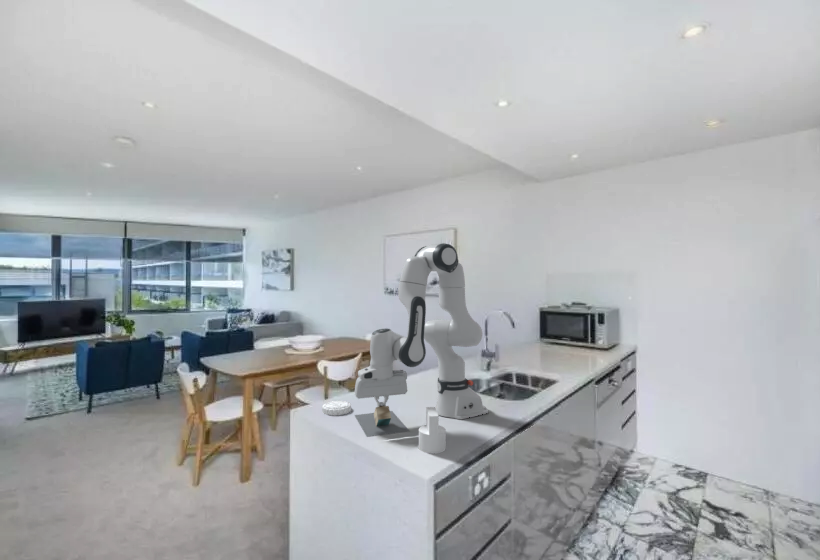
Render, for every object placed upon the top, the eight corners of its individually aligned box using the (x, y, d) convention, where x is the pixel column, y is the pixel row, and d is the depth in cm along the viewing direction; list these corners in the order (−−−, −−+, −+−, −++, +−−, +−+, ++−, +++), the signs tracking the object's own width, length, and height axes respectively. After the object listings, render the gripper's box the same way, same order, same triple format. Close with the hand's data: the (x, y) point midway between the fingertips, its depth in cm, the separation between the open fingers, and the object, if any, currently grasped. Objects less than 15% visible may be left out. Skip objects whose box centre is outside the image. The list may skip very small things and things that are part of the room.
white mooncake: (356, 411, 164) (356, 402, 164) (337, 419, 154) (337, 410, 154) (335, 406, 170) (335, 398, 170) (316, 414, 160) (316, 405, 160)
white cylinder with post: (417, 442, 132) (417, 407, 132) (443, 441, 132) (443, 406, 132) (420, 453, 123) (420, 416, 123) (447, 453, 123) (447, 416, 123)
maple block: (388, 405, 146) (391, 417, 143) (386, 412, 150) (388, 424, 146) (375, 407, 145) (378, 419, 141) (373, 414, 148) (376, 426, 144)
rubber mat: (391, 412, 162) (391, 410, 162) (409, 432, 140) (409, 431, 140) (354, 416, 156) (354, 415, 156) (366, 438, 135) (366, 436, 135)
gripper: (404, 367, 153) (404, 402, 153) (353, 371, 147) (353, 407, 147) (409, 371, 148) (409, 407, 147) (357, 375, 141) (357, 412, 141)
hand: (381, 407), depth 147 cm, fingers closed, pressing on maple block
